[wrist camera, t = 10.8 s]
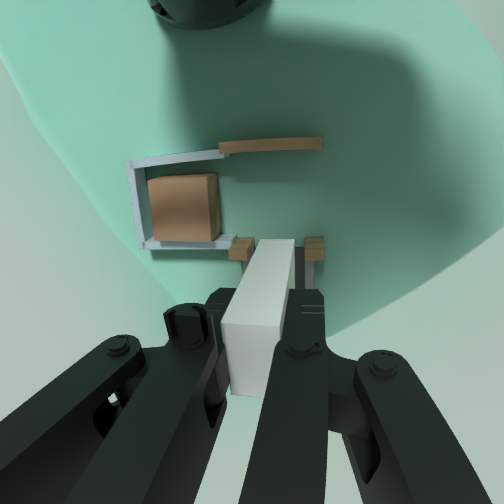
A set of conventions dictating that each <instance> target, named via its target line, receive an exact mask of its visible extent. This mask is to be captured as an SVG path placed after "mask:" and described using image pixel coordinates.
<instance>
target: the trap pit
mask: <svg viewBox="0 0 504 504" xmlns="http://www.w3.org/2000/svg"><path fill="white" fill-rule="evenodd" d="M256 248H257V247H254V249H253V251H252V253H251V255H250V257H249V259H248V260H242V266H243V275H244V273H245V271H246V269H247V266H248V264H249V262H250V260H251V258H252V256H253V254H254V252H255V250H256ZM295 289H314V261H305V247H295Z"/></svg>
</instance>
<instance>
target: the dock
mask: <svg viewBox="0 0 504 504" xmlns="http://www.w3.org/2000/svg"><path fill="white" fill-rule="evenodd" d="M227 157H230V153H228V154H219V149H213V150H203V151H194V152H186V153H178V154H170V155H163V156H156V157H149V158H143V159H137V160H131V161H126V165H127V173H128V181H129V188H130V195H131V202H132V209H133V215H134V221H135V227H136V233H137V238H138V243H139V249H229V248H230V247H231V245H232V244H233V242H234V241H235V240H236V238H237V235H236V234H218V236H217V237H216V238H215V239H214V240H213V241H212V242H184V241H154V234H153V227H152V219H151V212H150V206H149V198H148V191H147V183H146V175H145V167H149V166H156V165H164V164H172V163H180V162H189V161H198V160H209V159H220V158H227Z"/></svg>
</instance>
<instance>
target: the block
mask: <svg viewBox="0 0 504 504" xmlns="http://www.w3.org/2000/svg"><path fill="white" fill-rule="evenodd" d="M148 192H149V201H150V210H151V219H152V227H153V234H154V241H184V242H212V241H213V240H214V239H215V238H216V237H217V236H218V234H219V233H220V232H221V226H220V210H219V192H218V173H205V174H185V175H168V176H161V177H157V178H154V179H151V180H148Z"/></svg>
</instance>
